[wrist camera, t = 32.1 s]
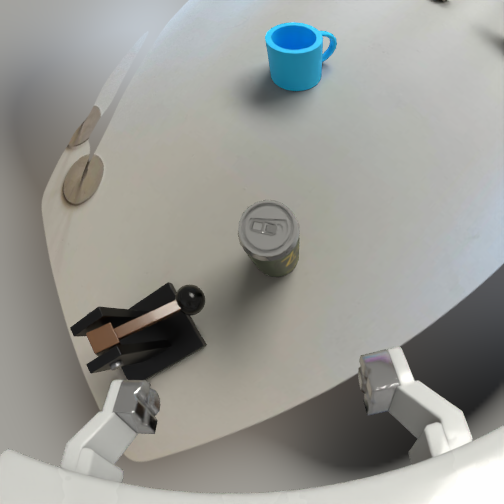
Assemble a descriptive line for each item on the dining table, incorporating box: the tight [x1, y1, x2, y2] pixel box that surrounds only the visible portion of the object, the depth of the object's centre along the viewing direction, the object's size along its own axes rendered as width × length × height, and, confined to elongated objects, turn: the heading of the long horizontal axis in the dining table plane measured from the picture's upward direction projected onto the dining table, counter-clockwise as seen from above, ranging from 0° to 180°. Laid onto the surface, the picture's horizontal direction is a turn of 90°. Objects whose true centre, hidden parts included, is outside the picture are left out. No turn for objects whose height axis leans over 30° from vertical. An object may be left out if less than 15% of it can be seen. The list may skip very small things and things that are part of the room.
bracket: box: [70, 283, 206, 380], centre depth 31 cm, size 12×9×13 cm
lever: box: [86, 285, 205, 357], centre depth 29 cm, size 13×3×3 cm
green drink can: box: [238, 200, 300, 277], centre depth 31 cm, size 5×5×12 cm
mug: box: [265, 22, 337, 91], centre depth 39 cm, size 12×8×8 cm
